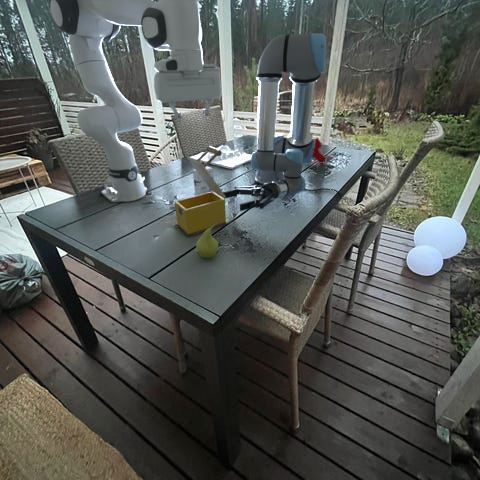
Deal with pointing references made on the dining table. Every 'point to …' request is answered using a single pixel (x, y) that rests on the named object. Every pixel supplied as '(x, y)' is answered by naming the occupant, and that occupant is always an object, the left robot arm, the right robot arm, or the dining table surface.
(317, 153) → the toy gun
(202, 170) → the lid
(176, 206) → the chest
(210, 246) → the fruit
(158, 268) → the dining table surface
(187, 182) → the dining table surface
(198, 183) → the ink box
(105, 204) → the dining table surface
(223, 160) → the relief map
